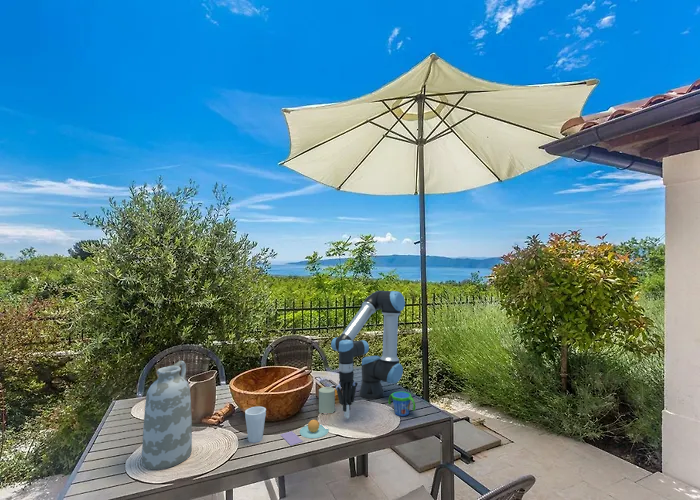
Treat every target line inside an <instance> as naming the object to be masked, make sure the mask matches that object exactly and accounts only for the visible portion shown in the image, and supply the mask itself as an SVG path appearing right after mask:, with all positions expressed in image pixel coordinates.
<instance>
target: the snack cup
mask: <svg viewBox="0 0 700 500" xmlns="http://www.w3.org/2000/svg"><path fill="white" fill-rule="evenodd" d="M414 399H415V398H413V396H412V394H411V393H410V392H407V391H403V390H401V391H399V390H398V391H395V392H392V393H391V394H390V395H389V396H388V401H387V402H388V403H387V404H388V406H389V405H391V404H392V405H393V409H394V413H395V415H397V416H399V417H405V416H408V415H409V413H410V408H411V402H412V411H415V410H416V403H415V402H416V401H415V400H414Z"/></svg>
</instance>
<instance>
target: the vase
mask: <svg viewBox="0 0 700 500" xmlns="http://www.w3.org/2000/svg"><path fill="white" fill-rule="evenodd" d="M180 372H181V373H180ZM156 374H157V376H158V378H157V379H156V380H155V381H153V383H151V385H150V386H149V388H148V389H147V392H146V395H145V396H146V397H145V402H144V405H145V406H144V417H143V427H142V428H143V429H142V442H141V447H142V449H141V464H142V467H144V468H146V469H147V470H153V471H155V470H162V469H163V470H164V469H168V468H172V467H175V466H177V465H179V464H181V463H183V462H185V461H186V460H188V458H189V457H190V456H191V454H192V452H193V448H192V447H193V444H192V443H193V440H192V439H193V434H192V433H193V429H192V427H193V425H192V422H193V421H192V401H191V400H192V397H191V389H190V388H191V387H190V385H189V383H188V381H187V379H186V376H187V375H186V374H187V364H186V362H185V361H183V360H179V361H177V362H175V364H172V365H168V366H164V367H160V368H158V369H157V370H156Z"/></svg>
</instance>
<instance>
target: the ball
mask: <svg viewBox="0 0 700 500" xmlns="http://www.w3.org/2000/svg"><path fill="white" fill-rule="evenodd" d="M319 424H320V422H319V421H318V420H317V419H311V420H310V421H309V422H308V423H307V425H308V429H309V431H310V432H316V431H317V430H318V429H319Z"/></svg>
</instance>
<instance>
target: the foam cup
mask: <svg viewBox="0 0 700 500" xmlns="http://www.w3.org/2000/svg"><path fill="white" fill-rule="evenodd" d="M266 411H267V408H266V407H264V406H252V407H249V408H247V409H245V410H244V412H245V413H244V417H245V424H246V425H245V426H246V431H247V440H248V442H249V443H259V442H261V441H262V440H263V436H264V430H265V429H264V428H265V421H266V415H267V412H266Z"/></svg>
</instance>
